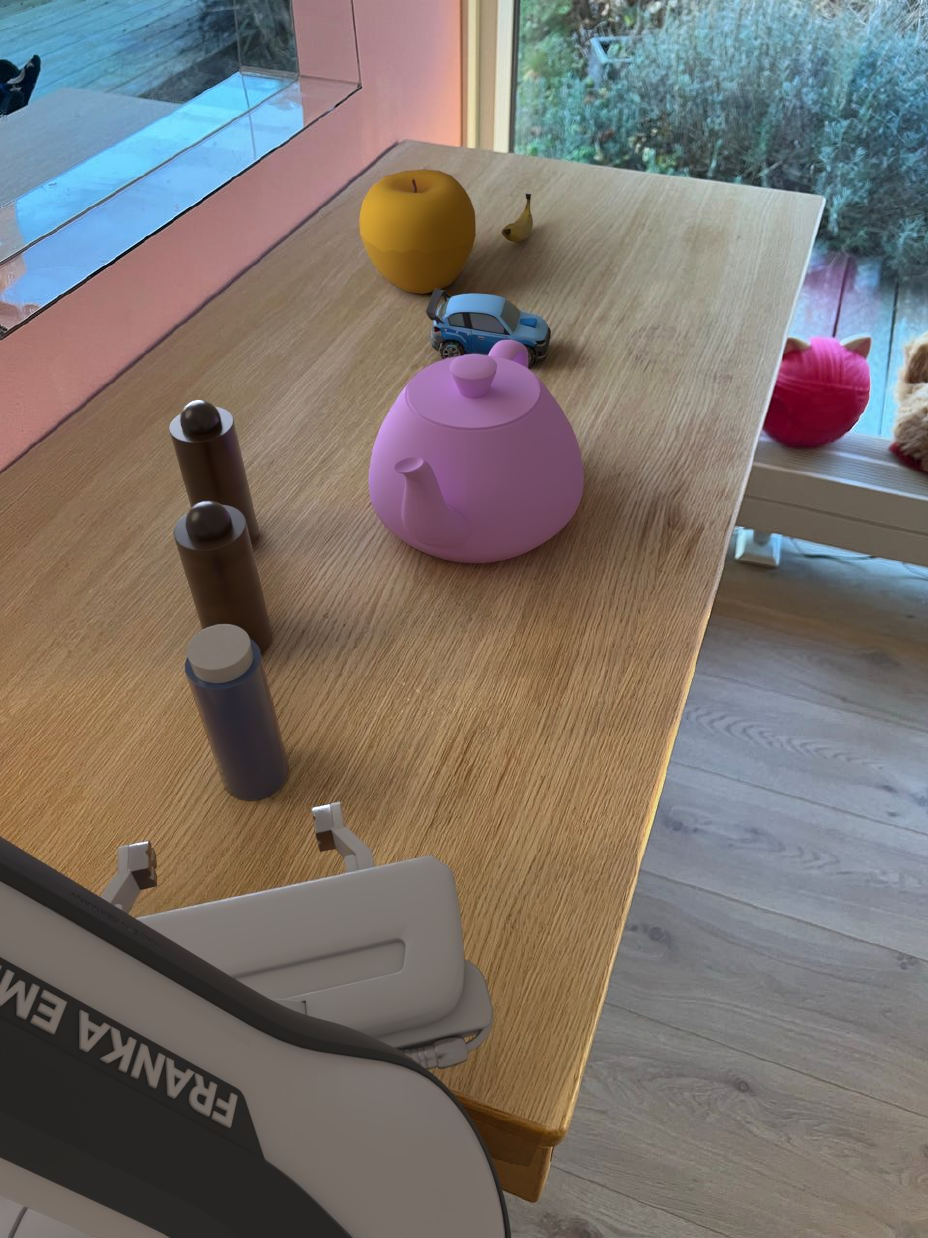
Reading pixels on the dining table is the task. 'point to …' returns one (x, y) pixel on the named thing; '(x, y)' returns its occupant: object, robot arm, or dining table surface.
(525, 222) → the banana
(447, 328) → the toy car
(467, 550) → the teapot
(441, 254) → the apple
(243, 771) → the blue shaker
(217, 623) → the near mill
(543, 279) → the dining table surface
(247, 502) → the far mill
